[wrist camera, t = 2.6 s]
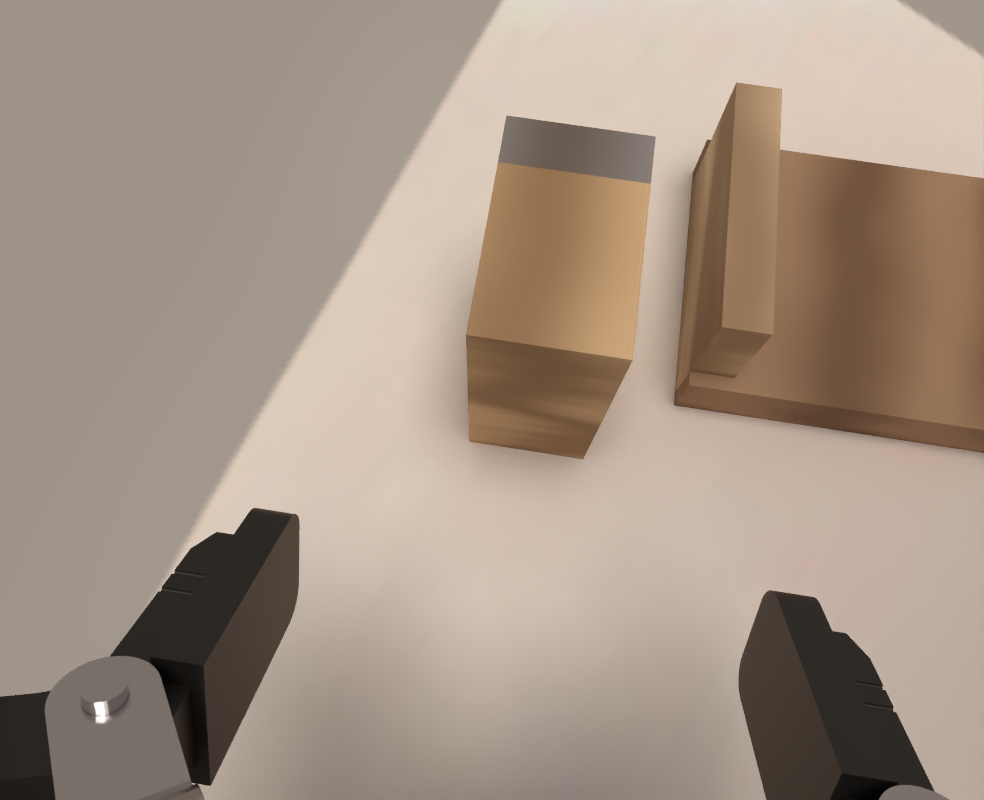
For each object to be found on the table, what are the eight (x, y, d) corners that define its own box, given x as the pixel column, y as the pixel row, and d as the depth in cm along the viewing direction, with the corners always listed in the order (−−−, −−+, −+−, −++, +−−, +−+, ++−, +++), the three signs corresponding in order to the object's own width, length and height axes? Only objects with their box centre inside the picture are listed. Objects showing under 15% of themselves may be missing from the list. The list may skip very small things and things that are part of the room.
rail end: (602, 293, 29) (655, 136, 20) (582, 458, 27) (632, 359, 18) (498, 278, 29) (506, 115, 20) (469, 441, 27) (466, 334, 18)
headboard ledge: (995, 215, 30) (1103, 121, 25) (1013, 456, 27) (1142, 405, 22) (693, 172, 31) (737, 70, 25) (674, 404, 27) (720, 342, 22)
